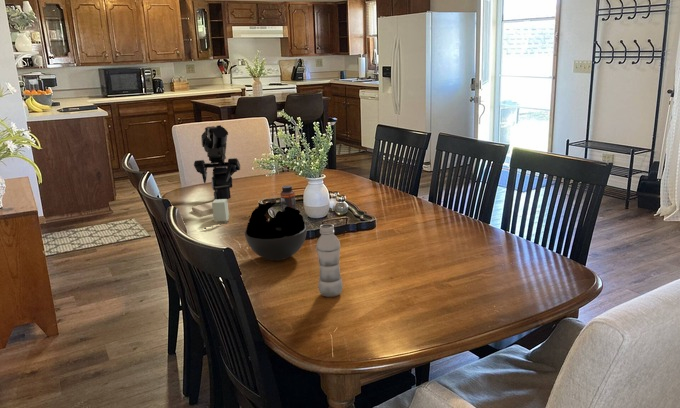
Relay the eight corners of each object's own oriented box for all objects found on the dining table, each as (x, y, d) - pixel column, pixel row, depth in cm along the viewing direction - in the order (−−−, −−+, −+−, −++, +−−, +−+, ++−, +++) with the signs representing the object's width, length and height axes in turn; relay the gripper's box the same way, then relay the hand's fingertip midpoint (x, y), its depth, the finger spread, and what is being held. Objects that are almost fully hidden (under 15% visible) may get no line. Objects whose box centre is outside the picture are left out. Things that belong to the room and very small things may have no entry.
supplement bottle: (297, 210, 241) (295, 184, 238) (295, 214, 235) (292, 188, 232) (283, 210, 241) (281, 184, 238) (280, 214, 236) (278, 188, 233)
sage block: (217, 220, 233) (214, 199, 231) (229, 220, 233) (227, 198, 231) (214, 224, 228) (211, 202, 226) (226, 223, 228) (224, 202, 226)
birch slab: (213, 206, 250) (213, 201, 250) (224, 210, 243) (223, 205, 242) (192, 211, 244) (191, 206, 244) (202, 215, 237) (202, 211, 236)
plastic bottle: (318, 291, 161) (313, 223, 155) (342, 288, 161) (338, 221, 156) (319, 300, 154) (314, 230, 149) (344, 298, 155) (340, 228, 149)
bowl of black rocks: (241, 254, 193) (235, 201, 188) (297, 243, 200) (292, 192, 195) (257, 274, 175) (251, 216, 170) (317, 261, 182) (313, 205, 177)
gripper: (192, 141, 240) (187, 172, 233) (235, 139, 239) (232, 170, 231) (199, 156, 250) (195, 187, 242) (241, 154, 249) (238, 184, 241)
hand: (215, 182), depth 239 cm, fingers open, 9 cm apart
